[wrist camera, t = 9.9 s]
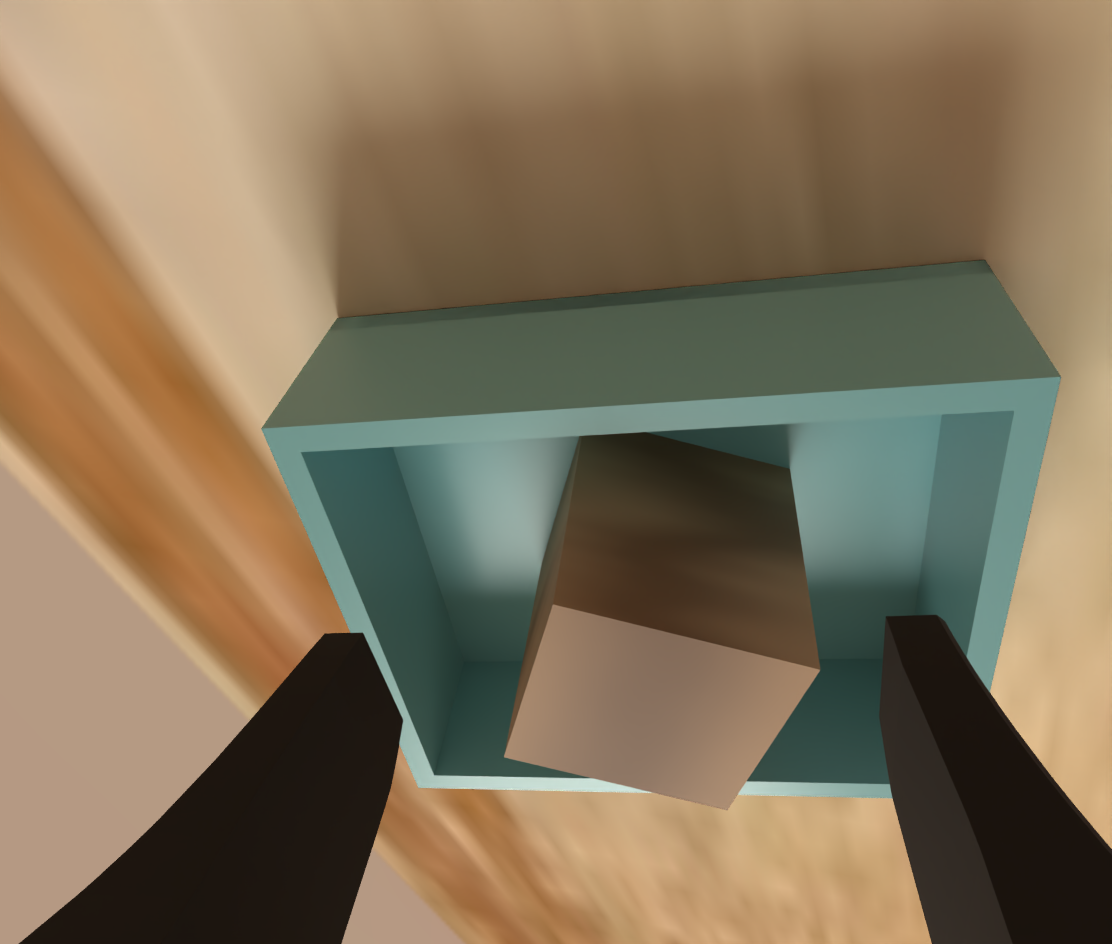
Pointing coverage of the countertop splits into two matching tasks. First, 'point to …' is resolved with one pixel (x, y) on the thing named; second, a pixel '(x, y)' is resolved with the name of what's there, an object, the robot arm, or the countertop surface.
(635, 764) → the walnut block
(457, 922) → the countertop surface
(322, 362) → the teal bin
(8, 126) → the countertop surface
